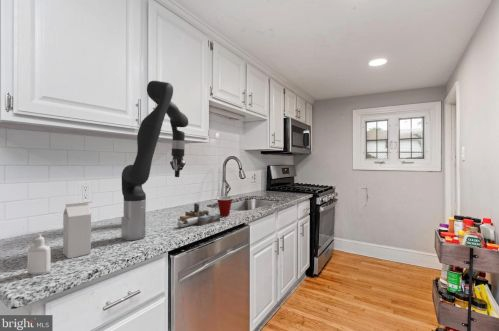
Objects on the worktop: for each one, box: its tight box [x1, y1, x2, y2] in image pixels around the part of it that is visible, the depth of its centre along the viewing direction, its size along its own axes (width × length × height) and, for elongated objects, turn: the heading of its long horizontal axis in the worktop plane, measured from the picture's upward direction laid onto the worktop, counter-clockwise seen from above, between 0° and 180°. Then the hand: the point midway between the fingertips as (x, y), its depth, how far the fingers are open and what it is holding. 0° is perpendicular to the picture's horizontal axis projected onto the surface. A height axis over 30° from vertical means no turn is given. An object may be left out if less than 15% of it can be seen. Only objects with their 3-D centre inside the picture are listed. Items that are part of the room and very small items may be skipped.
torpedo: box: [176, 217, 198, 228], centre depth 139 cm, size 18×5×7 cm, turn 146°
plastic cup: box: [216, 195, 234, 217], centre depth 166 cm, size 11×11×12 cm
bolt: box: [193, 202, 206, 216], centre depth 151 cm, size 3×10×7 cm, turn 52°
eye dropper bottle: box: [26, 233, 52, 275], centre depth 78 cm, size 4×6×12 cm
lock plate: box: [179, 209, 221, 226], centre depth 151 cm, size 14×21×6 cm, turn 52°
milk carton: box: [62, 201, 92, 259], centre depth 94 cm, size 7×7×19 cm
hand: (177, 177), depth 153 cm, fingers closed
